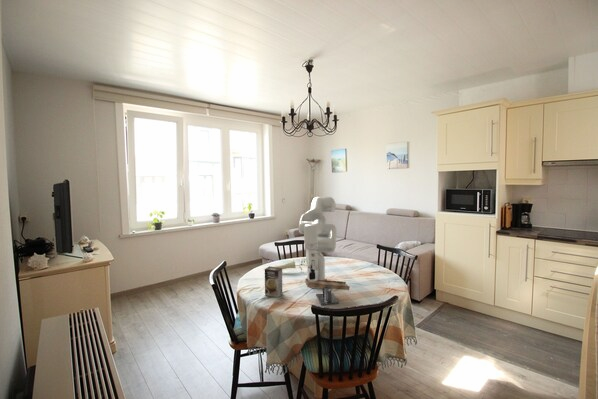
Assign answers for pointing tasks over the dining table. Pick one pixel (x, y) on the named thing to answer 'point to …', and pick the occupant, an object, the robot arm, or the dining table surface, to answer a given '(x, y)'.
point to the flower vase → (289, 265)
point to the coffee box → (273, 281)
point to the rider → (315, 274)
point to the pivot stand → (327, 296)
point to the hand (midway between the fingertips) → (311, 277)
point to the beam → (327, 284)
